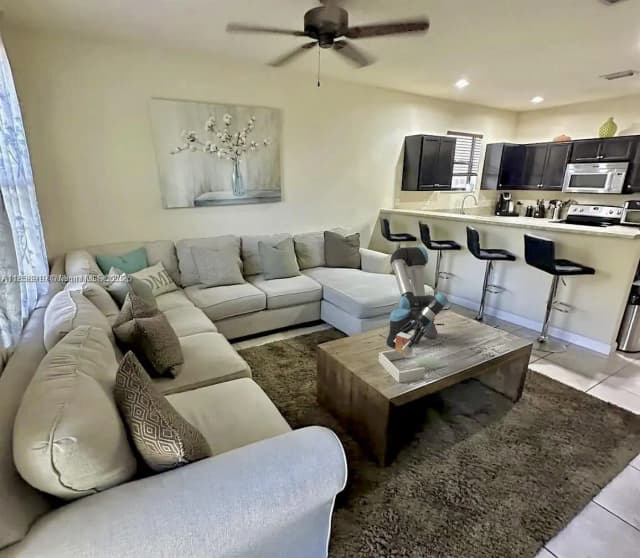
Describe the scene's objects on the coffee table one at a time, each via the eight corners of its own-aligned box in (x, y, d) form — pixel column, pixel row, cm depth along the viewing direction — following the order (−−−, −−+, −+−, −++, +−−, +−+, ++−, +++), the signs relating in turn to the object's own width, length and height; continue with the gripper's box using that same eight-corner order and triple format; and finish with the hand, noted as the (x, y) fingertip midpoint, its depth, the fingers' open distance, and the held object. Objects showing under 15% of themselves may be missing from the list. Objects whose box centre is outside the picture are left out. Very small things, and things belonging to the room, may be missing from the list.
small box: (394, 351, 203) (395, 334, 200) (400, 348, 206) (401, 331, 203) (407, 356, 197) (408, 338, 194) (412, 352, 201) (413, 335, 198)
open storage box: (378, 361, 213) (379, 352, 212) (402, 357, 218) (402, 348, 216) (398, 382, 191) (399, 373, 189) (424, 377, 195) (425, 368, 194)
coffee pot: (416, 334, 249) (417, 314, 245) (430, 331, 253) (431, 311, 248) (435, 347, 230) (437, 325, 225) (450, 344, 233) (452, 323, 229)
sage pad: (413, 360, 213) (413, 359, 213) (434, 357, 217) (434, 355, 217) (425, 370, 202) (425, 369, 202) (446, 366, 206) (446, 365, 206)
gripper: (441, 328, 191) (413, 359, 191) (418, 313, 211) (393, 341, 211) (433, 320, 188) (405, 352, 188) (411, 306, 208) (386, 334, 208)
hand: (399, 346), depth 200 cm, fingers closed on small box, 9 cm apart
